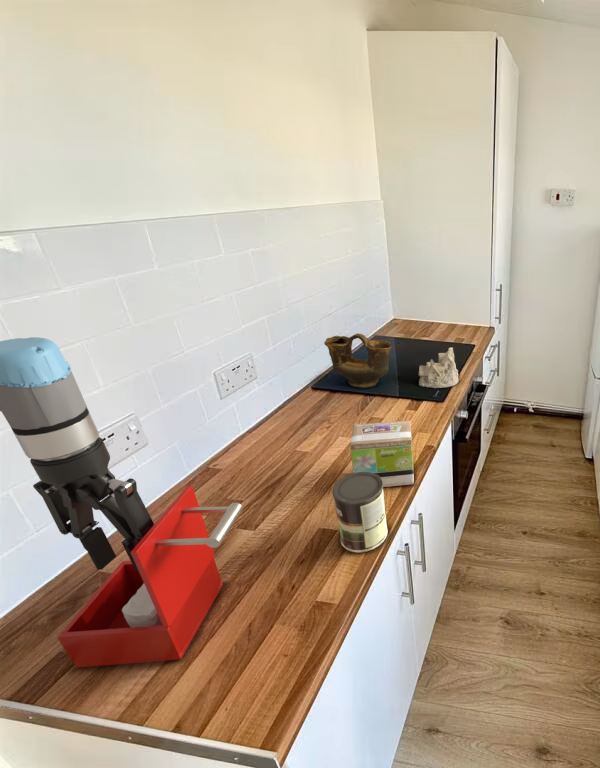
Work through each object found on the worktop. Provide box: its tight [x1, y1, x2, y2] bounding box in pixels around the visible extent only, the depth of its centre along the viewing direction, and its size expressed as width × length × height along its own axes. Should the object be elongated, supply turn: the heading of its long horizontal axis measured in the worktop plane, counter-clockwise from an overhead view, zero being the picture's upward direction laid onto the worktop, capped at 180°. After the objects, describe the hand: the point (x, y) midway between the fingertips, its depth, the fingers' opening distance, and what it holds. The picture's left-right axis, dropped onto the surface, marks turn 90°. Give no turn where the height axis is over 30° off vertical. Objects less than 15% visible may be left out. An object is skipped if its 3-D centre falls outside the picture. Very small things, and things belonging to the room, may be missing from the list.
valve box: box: [56, 557, 224, 669], centre depth 76 cm, size 16×15×8 cm
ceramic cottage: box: [418, 347, 459, 389], centre depth 170 cm, size 16×16×15 cm
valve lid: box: [131, 484, 244, 628], centre depth 72 cm, size 16×15×10 cm
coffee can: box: [331, 472, 389, 554], centre depth 95 cm, size 10×10×14 cm
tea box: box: [349, 420, 415, 488], centre depth 114 cm, size 15×10×15 cm, turn 104°
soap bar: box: [122, 584, 160, 628], centre depth 75 cm, size 10×6×6 cm, turn 178°
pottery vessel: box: [324, 333, 393, 389], centre depth 163 cm, size 25×11×20 cm, turn 85°
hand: (126, 563), depth 71 cm, fingers open, 6 cm apart
